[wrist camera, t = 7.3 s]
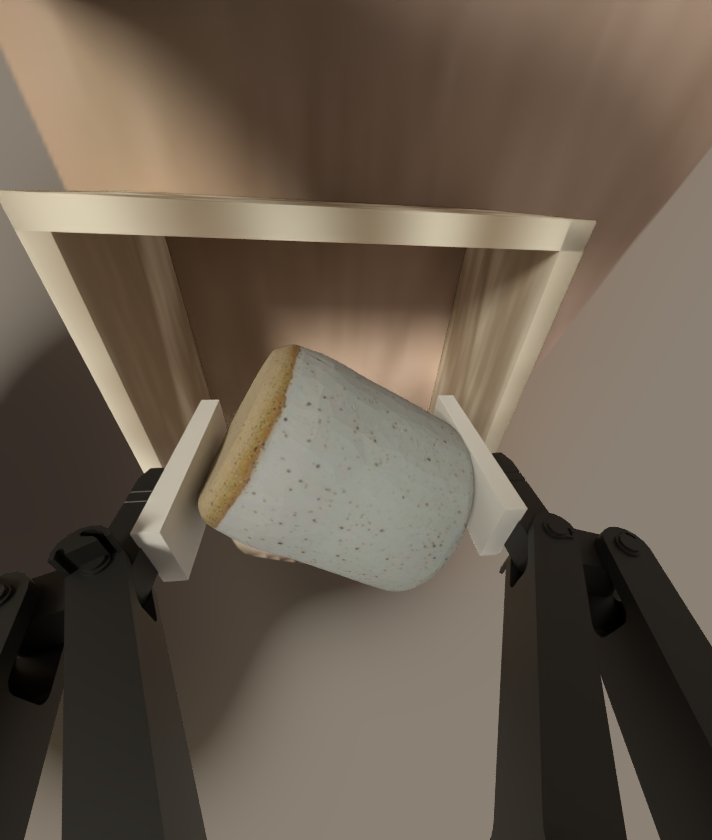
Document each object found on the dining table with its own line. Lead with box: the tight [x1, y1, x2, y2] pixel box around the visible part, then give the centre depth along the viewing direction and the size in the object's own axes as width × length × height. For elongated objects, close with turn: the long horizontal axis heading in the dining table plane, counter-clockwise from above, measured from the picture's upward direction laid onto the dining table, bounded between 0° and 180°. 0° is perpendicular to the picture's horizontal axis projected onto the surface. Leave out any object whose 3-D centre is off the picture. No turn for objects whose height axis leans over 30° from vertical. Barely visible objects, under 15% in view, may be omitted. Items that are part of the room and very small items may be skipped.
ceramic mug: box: [197, 345, 474, 591], centre depth 13 cm, size 11×8×8 cm
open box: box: [0, 190, 597, 473], centre depth 21 cm, size 23×17×10 cm
